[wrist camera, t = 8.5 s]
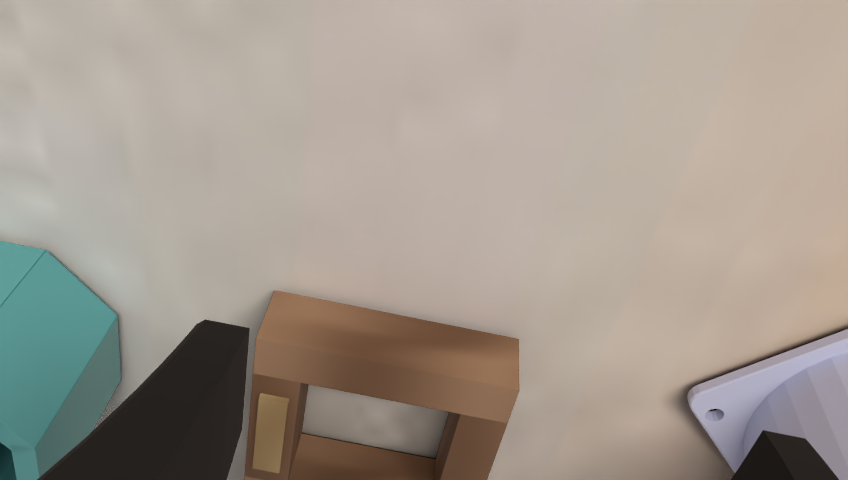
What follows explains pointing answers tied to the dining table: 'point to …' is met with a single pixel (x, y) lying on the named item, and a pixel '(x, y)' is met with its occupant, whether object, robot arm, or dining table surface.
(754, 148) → the dining table surface
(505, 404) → the block
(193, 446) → the robot arm
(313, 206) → the dining table surface
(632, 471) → the dining table surface
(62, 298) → the cup
